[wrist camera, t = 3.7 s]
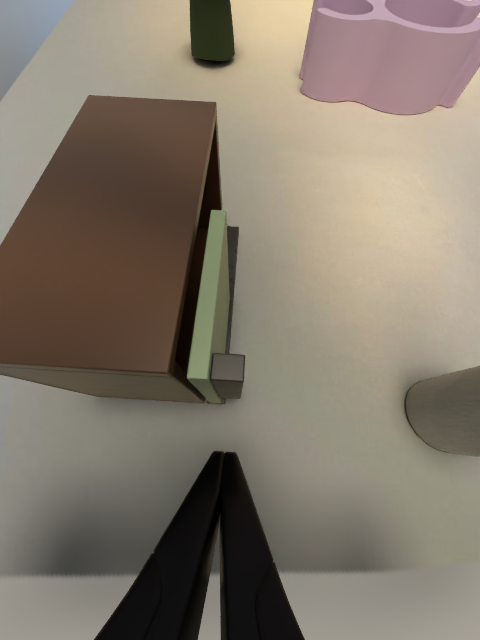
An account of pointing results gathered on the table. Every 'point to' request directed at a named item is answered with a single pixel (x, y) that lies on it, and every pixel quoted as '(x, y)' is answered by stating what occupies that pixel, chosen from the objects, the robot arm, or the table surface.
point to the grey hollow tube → (448, 411)
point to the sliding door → (214, 322)
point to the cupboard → (115, 253)
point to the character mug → (211, 30)
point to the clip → (391, 52)
